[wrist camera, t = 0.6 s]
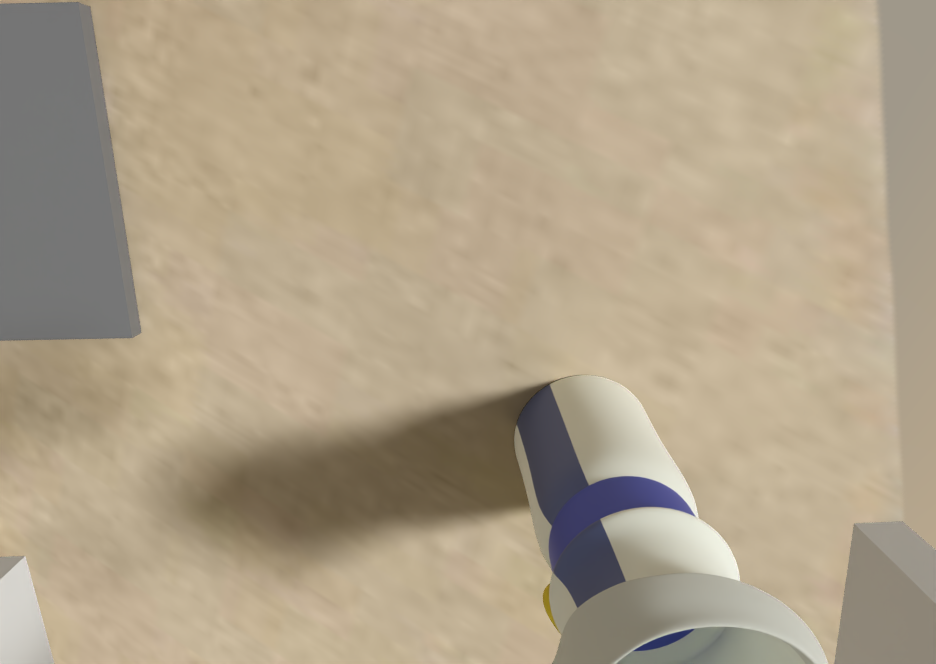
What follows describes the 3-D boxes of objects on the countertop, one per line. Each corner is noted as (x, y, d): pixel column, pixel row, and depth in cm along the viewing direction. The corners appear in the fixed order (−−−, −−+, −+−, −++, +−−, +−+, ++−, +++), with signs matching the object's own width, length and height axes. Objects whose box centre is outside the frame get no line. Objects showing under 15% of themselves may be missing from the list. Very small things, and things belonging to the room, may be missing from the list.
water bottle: (594, 534, 39) (811, 1173, 14) (479, 455, 37) (506, 1014, 13) (688, 431, 37) (1113, 960, 13) (571, 344, 35) (799, 752, 11)
